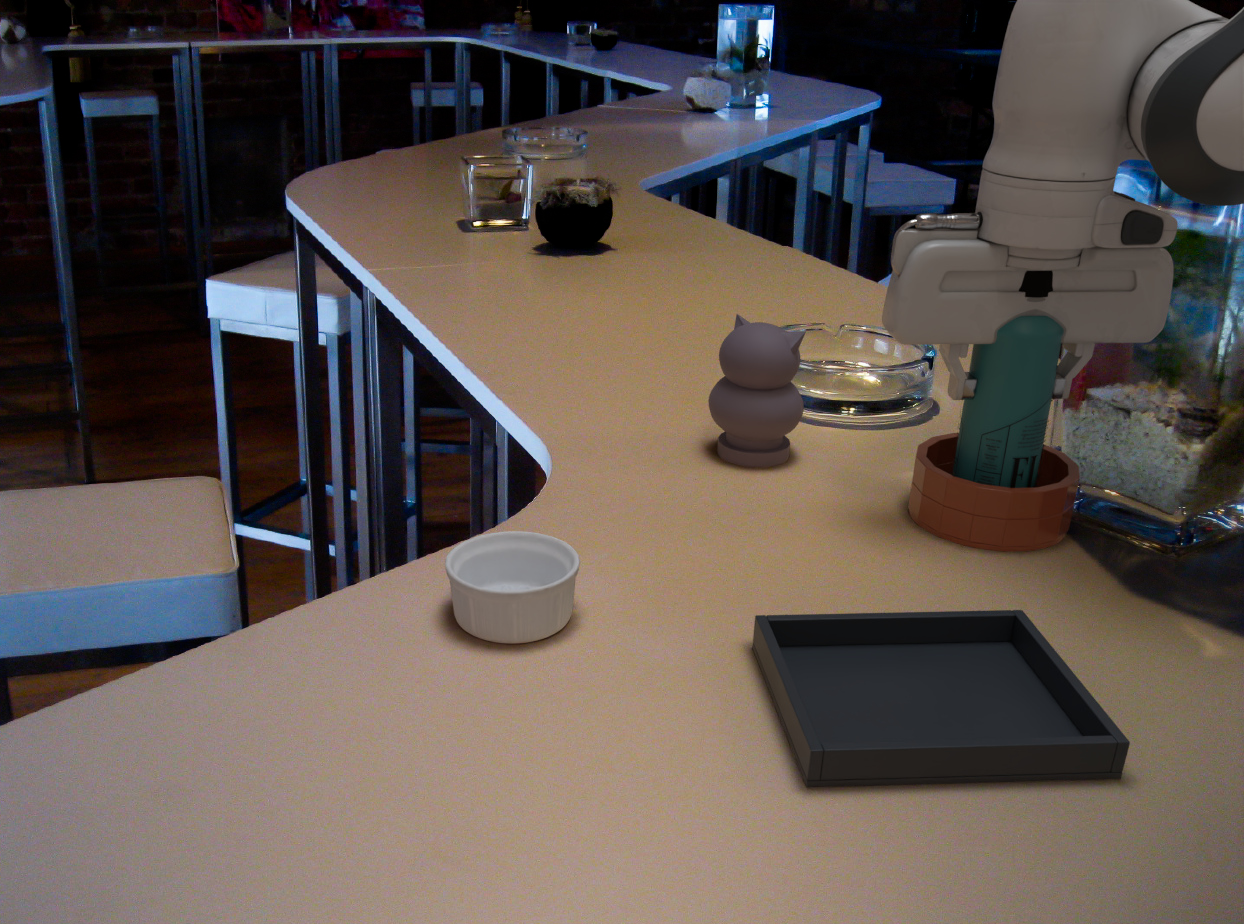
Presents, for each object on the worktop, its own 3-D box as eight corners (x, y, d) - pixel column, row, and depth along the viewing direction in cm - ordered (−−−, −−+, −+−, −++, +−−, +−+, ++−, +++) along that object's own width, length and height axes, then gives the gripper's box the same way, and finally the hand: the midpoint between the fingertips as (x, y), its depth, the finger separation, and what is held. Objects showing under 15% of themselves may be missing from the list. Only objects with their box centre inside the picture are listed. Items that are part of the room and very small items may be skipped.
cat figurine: (686, 450, 109) (693, 320, 104) (744, 430, 113) (754, 304, 108) (759, 480, 103) (771, 343, 98) (817, 457, 108) (831, 325, 102)
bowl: (1029, 486, 102) (1039, 431, 100) (1094, 551, 91) (1107, 490, 89) (889, 488, 101) (896, 433, 99) (938, 553, 91) (947, 492, 88)
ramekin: (476, 662, 76) (475, 602, 74) (428, 600, 84) (425, 544, 82) (601, 632, 80) (603, 574, 78) (544, 575, 87) (545, 520, 85)
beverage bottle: (1003, 538, 92) (1052, 277, 83) (927, 510, 96) (966, 260, 88) (1047, 514, 96) (1097, 263, 87) (972, 488, 100) (1013, 247, 92)
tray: (1015, 642, 79) (1022, 609, 78) (1121, 780, 66) (1130, 742, 65) (751, 648, 78) (755, 614, 77) (806, 789, 65) (810, 750, 64)
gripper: (911, 222, 83) (885, 413, 89) (1201, 221, 84) (1157, 410, 90) (883, 204, 88) (861, 385, 94) (1155, 204, 89) (1116, 382, 95)
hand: (1007, 397), depth 92 cm, fingers closed on beverage bottle, 6 cm apart
